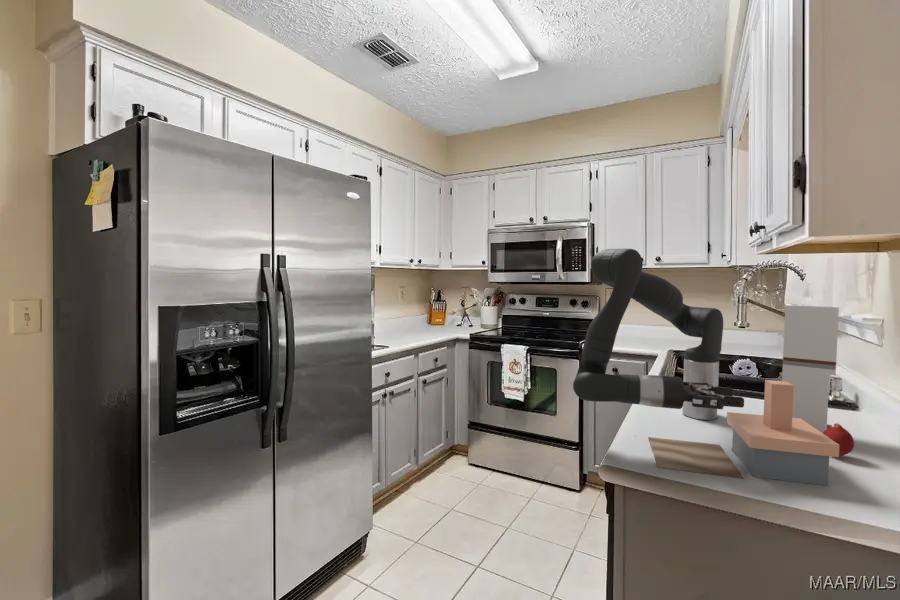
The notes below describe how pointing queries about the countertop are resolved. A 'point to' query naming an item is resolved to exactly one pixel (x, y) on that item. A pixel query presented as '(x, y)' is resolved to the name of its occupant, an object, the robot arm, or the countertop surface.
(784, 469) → the storage box
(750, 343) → the countertop surface
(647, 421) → the countertop surface
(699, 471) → the board
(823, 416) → the white tall block
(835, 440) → the pomegranate
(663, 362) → the countertop surface
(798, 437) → the lid
